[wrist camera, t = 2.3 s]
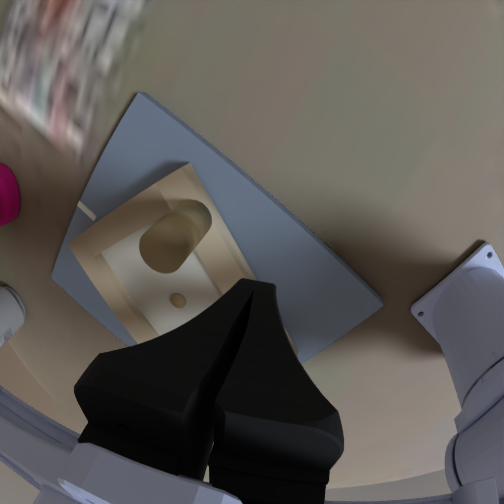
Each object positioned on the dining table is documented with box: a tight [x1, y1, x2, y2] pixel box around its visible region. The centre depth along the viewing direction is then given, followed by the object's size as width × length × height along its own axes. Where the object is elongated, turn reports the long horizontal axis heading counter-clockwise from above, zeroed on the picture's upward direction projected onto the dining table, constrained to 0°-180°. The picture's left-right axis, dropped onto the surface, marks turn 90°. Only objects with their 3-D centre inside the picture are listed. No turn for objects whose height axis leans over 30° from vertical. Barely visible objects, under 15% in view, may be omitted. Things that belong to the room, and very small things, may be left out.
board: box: [51, 92, 384, 364], centre depth 24 cm, size 22×20×1 cm
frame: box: [68, 163, 299, 358], centre depth 20 cm, size 16×12×6 cm
